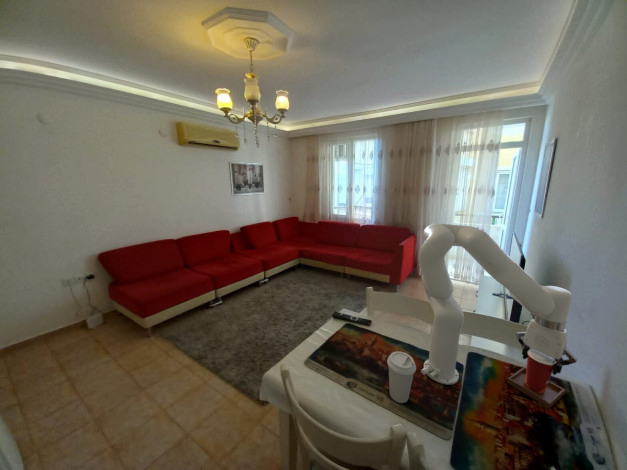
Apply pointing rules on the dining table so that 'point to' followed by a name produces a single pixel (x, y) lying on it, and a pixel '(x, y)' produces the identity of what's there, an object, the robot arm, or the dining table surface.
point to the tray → (546, 398)
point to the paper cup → (538, 370)
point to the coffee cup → (400, 375)
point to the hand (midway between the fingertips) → (539, 364)
